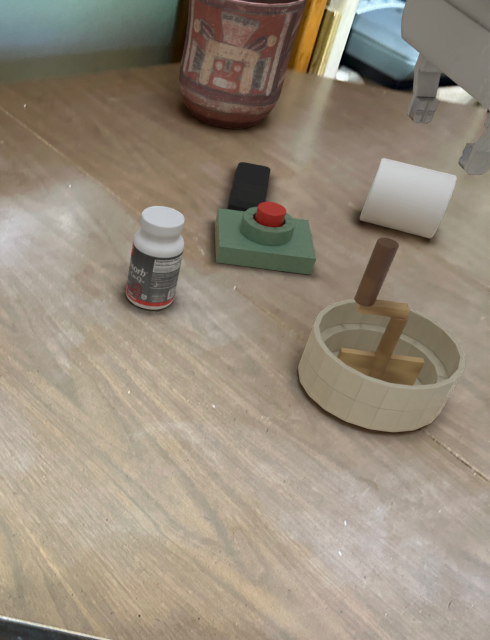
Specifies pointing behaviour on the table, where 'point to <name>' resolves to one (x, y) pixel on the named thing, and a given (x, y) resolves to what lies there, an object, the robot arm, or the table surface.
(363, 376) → the bowl
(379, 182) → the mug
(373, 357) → the stirring paddle
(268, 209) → the timer button
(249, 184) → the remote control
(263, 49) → the pottery
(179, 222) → the pill bottle
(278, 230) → the green button base
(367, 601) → the table surface
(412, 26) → the robot arm
